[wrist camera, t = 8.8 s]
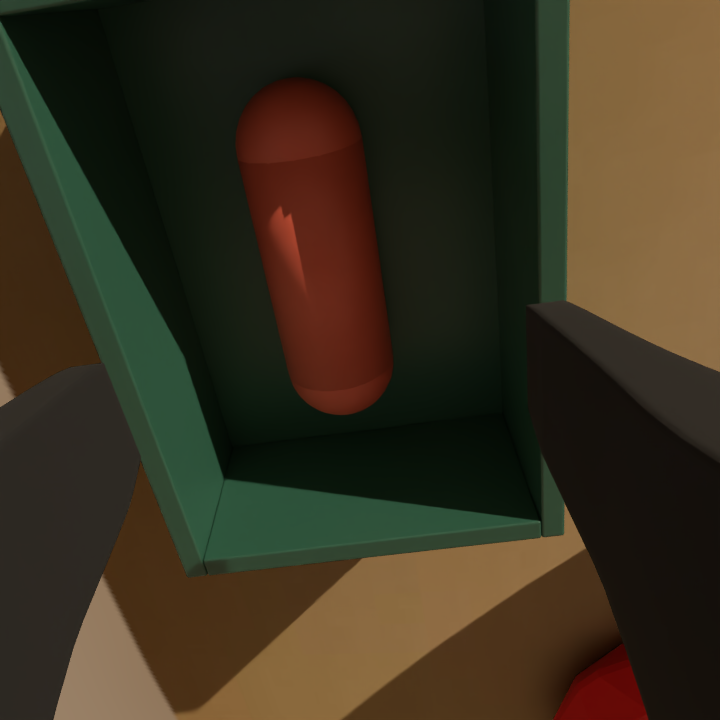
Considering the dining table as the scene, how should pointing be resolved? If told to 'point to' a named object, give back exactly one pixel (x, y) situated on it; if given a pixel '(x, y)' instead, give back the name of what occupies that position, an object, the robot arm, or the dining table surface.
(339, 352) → the red capsule pill
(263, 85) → the bin
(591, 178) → the dining table surface
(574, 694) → the gemstone
